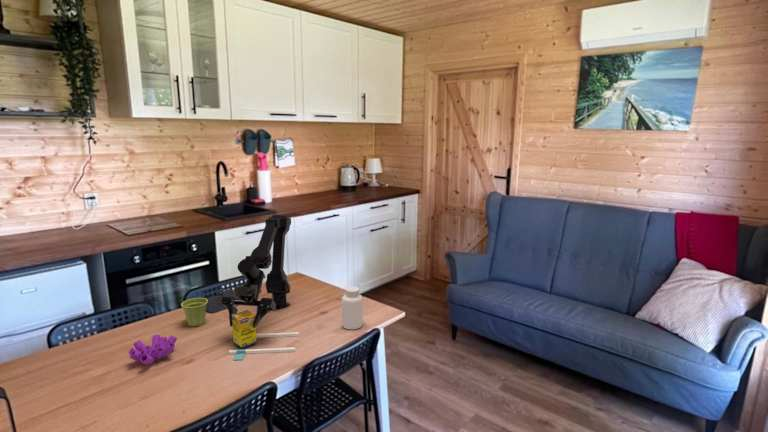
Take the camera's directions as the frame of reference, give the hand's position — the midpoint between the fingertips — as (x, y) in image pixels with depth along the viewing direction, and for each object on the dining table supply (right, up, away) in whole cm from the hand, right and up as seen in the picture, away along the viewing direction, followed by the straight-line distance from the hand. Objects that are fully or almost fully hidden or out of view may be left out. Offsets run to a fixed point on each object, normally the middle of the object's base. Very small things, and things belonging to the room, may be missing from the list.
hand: (242, 326), depth 146 cm
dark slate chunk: (-20, 0, +39) cm, 44 cm away
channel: (+7, -7, +3) cm, 11 cm away
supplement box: (0, -7, +3) cm, 7 cm away
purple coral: (-27, -9, -6) cm, 29 cm away
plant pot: (-24, -4, +19) cm, 31 cm away
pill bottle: (+37, -4, +18) cm, 41 cm away
